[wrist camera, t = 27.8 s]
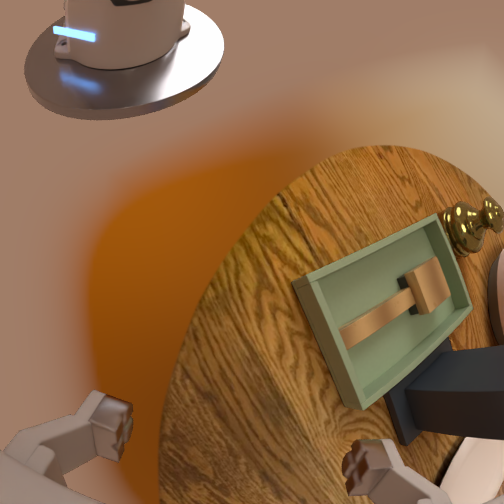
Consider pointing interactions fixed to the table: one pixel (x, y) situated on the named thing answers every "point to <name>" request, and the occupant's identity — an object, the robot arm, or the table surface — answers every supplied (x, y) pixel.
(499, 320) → the bowl
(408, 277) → the brush
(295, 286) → the tray
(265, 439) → the table surface
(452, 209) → the brass bell weight
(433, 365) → the stand
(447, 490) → the plate
